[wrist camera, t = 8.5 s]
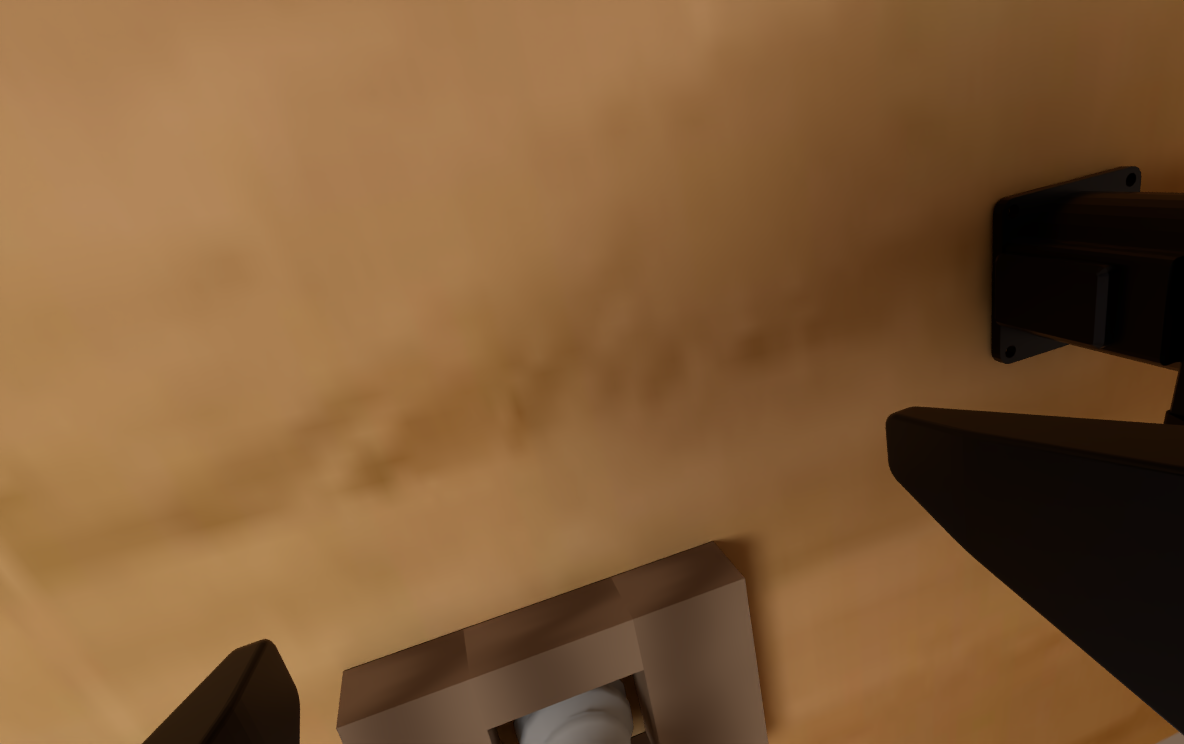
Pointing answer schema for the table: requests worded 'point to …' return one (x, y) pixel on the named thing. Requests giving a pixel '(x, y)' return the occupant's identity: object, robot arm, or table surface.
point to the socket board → (579, 663)
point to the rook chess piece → (581, 719)
